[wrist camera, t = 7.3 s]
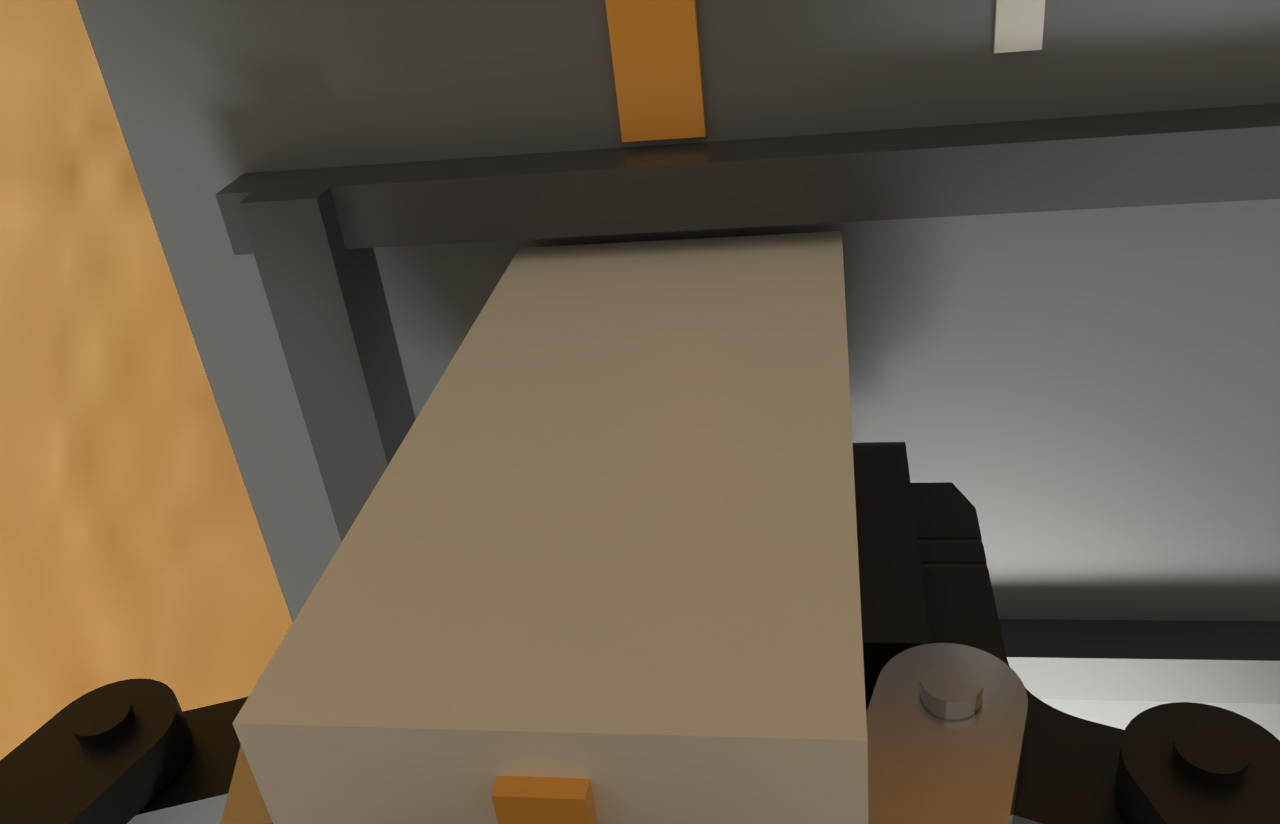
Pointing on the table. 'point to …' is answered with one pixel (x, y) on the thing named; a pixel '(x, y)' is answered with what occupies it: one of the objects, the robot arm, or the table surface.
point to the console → (766, 205)
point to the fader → (599, 564)
